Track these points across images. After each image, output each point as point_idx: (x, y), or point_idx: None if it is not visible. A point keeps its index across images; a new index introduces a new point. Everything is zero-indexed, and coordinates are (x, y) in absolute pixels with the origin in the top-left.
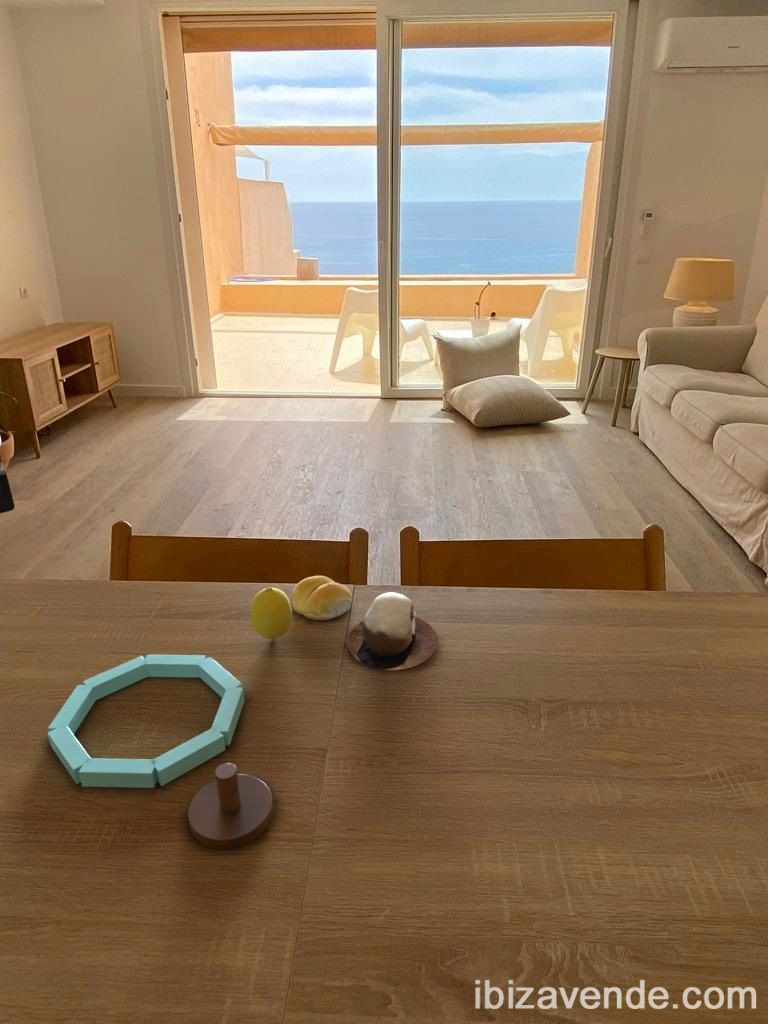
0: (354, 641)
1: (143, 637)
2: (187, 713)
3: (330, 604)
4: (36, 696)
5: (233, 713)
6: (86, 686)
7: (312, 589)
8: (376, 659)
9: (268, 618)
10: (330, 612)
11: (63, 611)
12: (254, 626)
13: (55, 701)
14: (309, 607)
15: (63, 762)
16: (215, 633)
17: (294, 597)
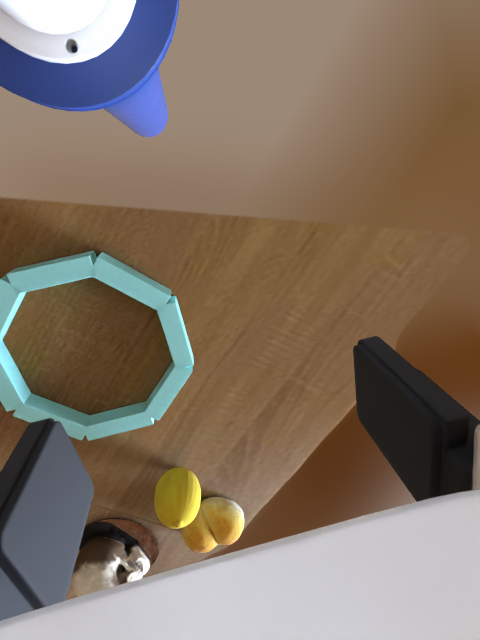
0: (129, 526)
1: (255, 364)
2: (90, 380)
3: (182, 533)
4: (201, 244)
5: None
6: (161, 304)
7: (212, 530)
8: (95, 532)
9: (156, 497)
10: None
11: (370, 292)
12: (172, 474)
13: (180, 263)
14: None
15: (48, 261)
16: (219, 427)
17: (217, 510)
